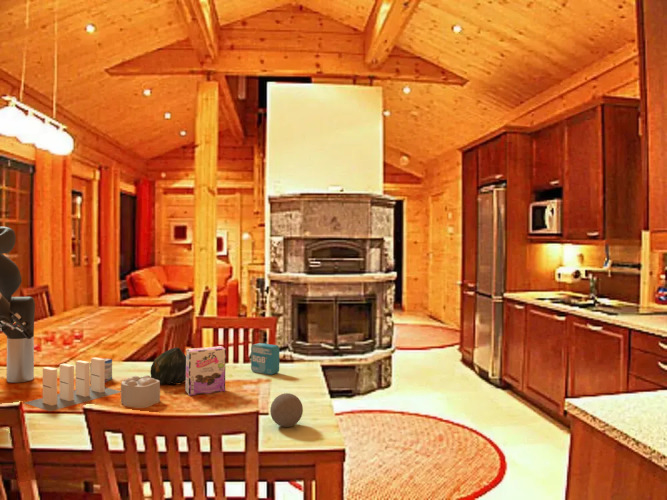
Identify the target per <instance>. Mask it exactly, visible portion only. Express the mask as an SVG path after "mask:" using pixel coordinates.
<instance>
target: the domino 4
mask: <svg viewBox="0 0 667 500" xmlns="http://www.w3.org/2000/svg"><path fill="white" fill-rule="evenodd" d="M105 359H106V358H100V357H91V358H90V363H91V383H90V386H91V390H92V391H95V392H99V393H101V392H105V383H106V382H105Z"/></svg>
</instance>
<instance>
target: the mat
mask: <svg viewBox="0 0 667 500" xmlns="http://www.w3.org/2000/svg"><path fill="white" fill-rule="evenodd" d="M119 393H121V390H116V389H112V388H109V387H105V392H101V393H99V392H95V391H92V390H91V385H90V396H86V397H84V396H80V395H77V394H76V389H74V400H71V401H67V400H63V399H60V393H57V404H56V405H52V406H51V405H48V404H45V403H43V397H41V398H37V399H33V400H29V401H26V402H24V404H26V405H28V406H32V407H35V408H38V409H41V410H44V411H47V412H53V411H56V410H60V409H61V410H62V409H65V408H68V407H71V406H76V405H78V404H79V405H80V404H82V403H87V402H90V401H93V400H97V399H101V398H105V397H108V396H111V395H115V394H119Z"/></svg>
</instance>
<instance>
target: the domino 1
mask: <svg viewBox="0 0 667 500" xmlns="http://www.w3.org/2000/svg"><path fill="white" fill-rule="evenodd" d="M57 394H58V369H57V368H54V367H50V366H46V367H45V366H44V367H42V398H43V403H45V404H48V405H51V406H52V405H56V404H57Z"/></svg>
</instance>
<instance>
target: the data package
mask: <svg viewBox="0 0 667 500" xmlns="http://www.w3.org/2000/svg"><path fill="white" fill-rule="evenodd" d="M250 349H251V352H250V354H251V355H250V361H251V362H250V370H251V372H253V373H257V374H263V375H268V376H273V375H274V374H275V375H276V374H278V373H279V371H280V347H279V345H277V344H269V343H264V342H263V343H262V342H259V343H254V344H252V345H251V348H250Z"/></svg>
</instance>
